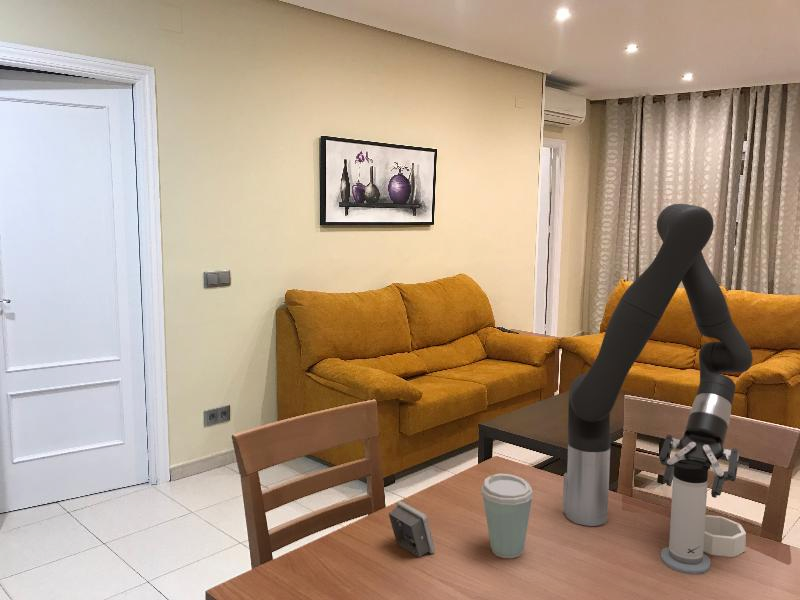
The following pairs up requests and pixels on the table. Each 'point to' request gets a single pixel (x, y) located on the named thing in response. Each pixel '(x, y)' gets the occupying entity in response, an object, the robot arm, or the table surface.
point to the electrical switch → (411, 529)
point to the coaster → (683, 567)
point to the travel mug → (688, 511)
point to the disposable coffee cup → (507, 513)
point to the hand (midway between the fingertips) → (690, 489)
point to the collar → (723, 537)
